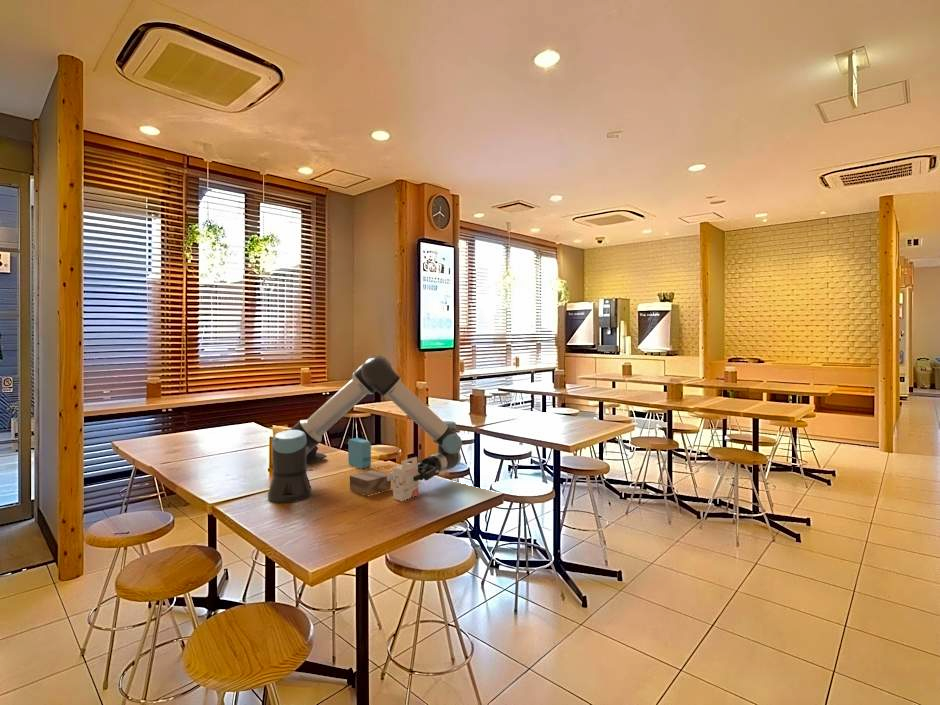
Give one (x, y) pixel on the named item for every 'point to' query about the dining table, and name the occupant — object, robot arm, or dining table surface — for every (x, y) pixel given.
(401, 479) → the ink cartridge box
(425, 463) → the robot arm
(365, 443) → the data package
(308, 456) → the casserole
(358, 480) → the walnut block
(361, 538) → the dining table surface
